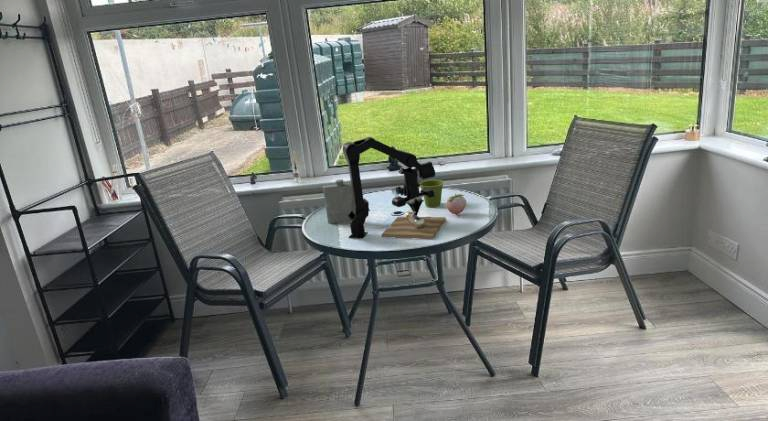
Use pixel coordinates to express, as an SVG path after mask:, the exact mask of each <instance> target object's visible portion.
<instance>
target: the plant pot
mask: <svg viewBox="0 0 768 421" xmlns="http://www.w3.org/2000/svg"><path fill="white" fill-rule="evenodd" d="M419 184H420V186H419V187H420V189H421V190H422V189H426V188H429V189H432V190H434V192H435V196H434V197H431V198H429V197H428V196H423V200H424V205H425V206H426V207H427V208H436V207H437V208H439V207H440V206H441V204H442V193H443V187H444V184H445V182H444V181H443V180H441V179H428V180H427V179H426V180H422V181H421V182H419ZM421 190H420V191H421Z"/></svg>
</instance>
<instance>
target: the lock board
mask: <svg viewBox="0 0 768 421" xmlns="http://www.w3.org/2000/svg"><path fill="white" fill-rule="evenodd" d="M419 217H420V218H423V219H424V227H422V228H416V227H415V225H414V224H412V223H411V222H410V221H408V220H407V218H406V216H397V217H396V218H395V219H394V220H393V221H392V222H391V223H390V225H389V226H388V227H387V228H386V229H385V230H384V231H383V232H381V238H382V237H395V238H394V239H412V238H418V239H419V238H420V239H421V240H434V239H435V238H436V235H437V234H438V233H439V231H441V228H442V227H443V226H444V223H445V222H446V221H447V218H446V216H445V217H444V216H442V217H441V216H440V217H437V216H419ZM433 238H434V239H433ZM420 239H419V240H420Z"/></svg>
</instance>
